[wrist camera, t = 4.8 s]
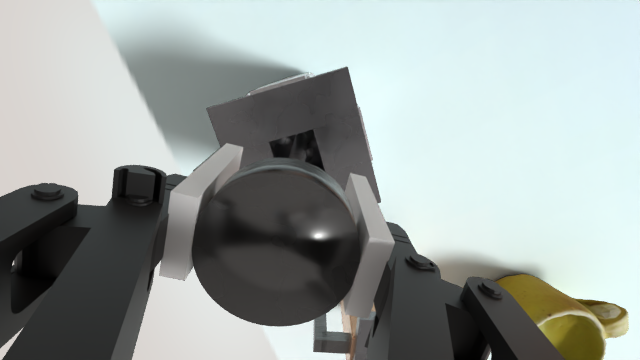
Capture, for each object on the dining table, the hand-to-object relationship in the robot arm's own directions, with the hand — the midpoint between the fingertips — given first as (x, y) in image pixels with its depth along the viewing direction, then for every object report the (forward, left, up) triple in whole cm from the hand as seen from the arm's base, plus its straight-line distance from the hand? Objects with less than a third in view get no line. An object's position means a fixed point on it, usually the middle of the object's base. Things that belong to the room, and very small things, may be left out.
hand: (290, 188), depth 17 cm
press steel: (+1, -1, -19) cm, 19 cm away
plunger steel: (0, 0, -12) cm, 12 cm away
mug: (+13, +29, -19) cm, 37 cm away
